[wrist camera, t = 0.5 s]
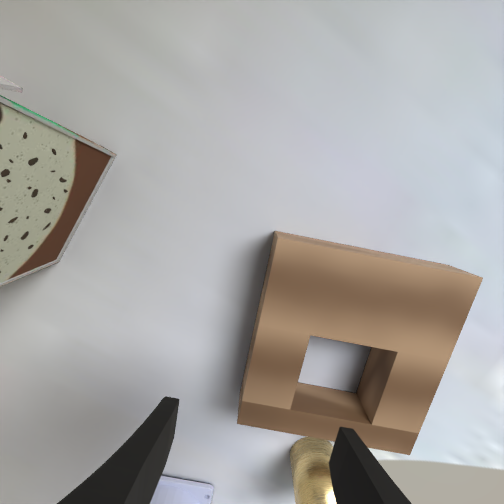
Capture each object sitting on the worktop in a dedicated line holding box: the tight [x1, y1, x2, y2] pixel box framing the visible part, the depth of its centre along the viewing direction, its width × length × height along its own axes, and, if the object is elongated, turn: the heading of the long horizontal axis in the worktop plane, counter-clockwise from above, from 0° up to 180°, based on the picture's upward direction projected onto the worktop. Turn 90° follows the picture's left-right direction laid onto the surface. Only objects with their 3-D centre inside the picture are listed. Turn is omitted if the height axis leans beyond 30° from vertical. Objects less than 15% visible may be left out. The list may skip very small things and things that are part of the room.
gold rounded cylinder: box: [290, 437, 336, 504], centre depth 21 cm, size 4×4×5 cm
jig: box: [237, 231, 483, 455], centre depth 19 cm, size 14×13×3 cm
